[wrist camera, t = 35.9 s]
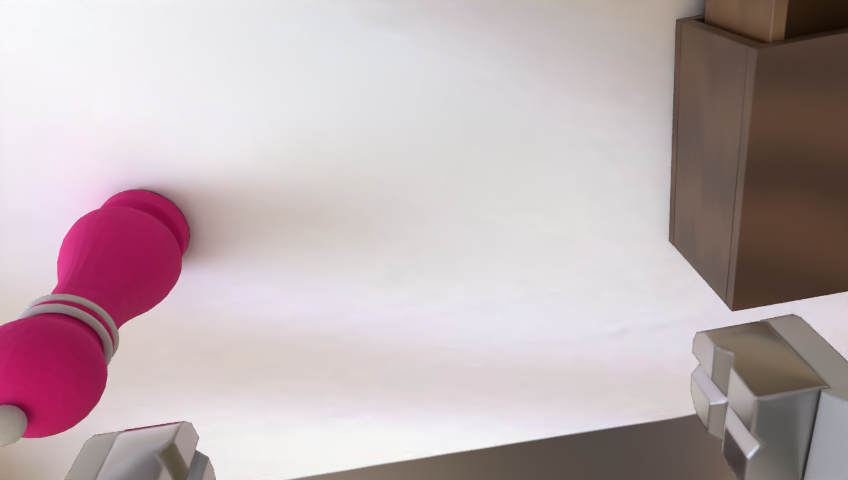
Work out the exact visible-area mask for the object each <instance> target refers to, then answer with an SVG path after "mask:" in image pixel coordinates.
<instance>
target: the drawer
mask: <svg viewBox="0 0 848 480" xmlns="http://www.w3.org/2000/svg"><path fill="white" fill-rule="evenodd" d="M705 24H707V25H710V26H713V27H715V28H718V29H721V30H724V31H727V32H730V33H733V34H736V35H739V36H742V37H744V38H747V39H750V40H753V41H756V42H759V43H762V44H764V43H770V42H775V41H781V40H786V39H792V38H797V37H803V36H808V35H814V34H819V33H825V32H830V31H836V30H841V29H847V28H848V0H706V7H705Z"/></svg>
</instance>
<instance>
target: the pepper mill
mask: <svg viewBox="0 0 848 480" xmlns="http://www.w3.org/2000/svg"><path fill="white" fill-rule="evenodd" d="M188 243H189V228H188V225H187V222H186V219H185V217H184V216H183V214H182V213H181V211H180V210H179V209H178V208H177V207H176V206H175V205H174V204H173V203H172V202H170V201H169V200H167V199H166V198H164V197H162V196H160V195H158V194H155V193H152V192H148V191H143V190H129V191H124V192H121V193H118V194H116V195H114V196H112V197H111V198H110V199H108V200H107V201H106V202H105V203H104V205H103V206H102V207H101V208H100V209H97V210H94V211H92V212H90V213H88V214H86V215H84V216H83V217H81V218H80V219H79V220H78V221H77V222H76V223H75V224H74V225H73V226H72V228H71V229H70V230H69V232H68V233H67V235H66V236H65V238H64V240H63V243H62V246H61V248H60V252H59V257H58V261H57V274H58V284H57V286H56V287H55V289H54V290H53V292H52V293H51V295H47V296H43V297H41V298H38V299H36V300H35V301H33V302H31V303H30V304H29V305H28V306H27V307H26V308H25V309H24V311H23V313H22V314H20V315H19V316H18V317H17V318H16V320H15V321H12V322H9V323H6V324H4V325H2V326H0V446H6V445H9V444H12V443H14V442H16V441H17V440H18V439H20V438H21V437H24V438H42V437H47V436H52V435H55V434H58V433H61V432H64V431H66V430H68V429H70V428H72V427H74V426H75V425H76V424H77V423H79V422H80V421H81V420H83V419H84V418H85V417H86V416H87V415H88V414H89V413H90V412H91V411H92V409H93V408H94V407H95V406H96V405H97V403H98V402H99V400H100V398H101V396H102V394H103V392H104V389H105V387H106V381H107V366H108V364H109V363H110V361H111V358H112V357H113V356H114V354H115V353H116V351H117V348H118V344H119V334H118V329H119V328H120V327H121V326H122V325H123V324H124V323H125V322H127V321H128V320H130V319H132V318H134V317H136V316H138V315H140V314H143V313H145V312H147V311H149V310H150V309H152V308H153V307H154V306H156V305H157V304H158V303H160V302H161V301H162V300H163V299H164V298H165V297H166V296H167V295H168V294H169V292H170V291H171V290H172V288H173V287H174V286H175V284H176V282H177V281H178V278H179V275H180V272H181V266H182V256H183V254H184V252H185V251H186V249H187V246H188Z"/></svg>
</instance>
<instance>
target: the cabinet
mask: <svg viewBox="0 0 848 480" xmlns="http://www.w3.org/2000/svg"><path fill="white" fill-rule="evenodd" d="M669 241H670V242H671V243H672V245H674V247H675V248H676V249H677V250H678V251H679V252H680V253H681V254H682V256H683V257H684V258H685V259H686V260H687V261H688V262H689V263H690V265H691V266H692V267H693V268H694V269H695V270H696V271H697V272H698V274H699V275H700V276H701V277H702V278H703V279H704V280H705V281H706V283H707V284H708V285H709V286H710V287H711V288H712V289H713V290H714V292H715V293H716V294H717V295H718V296H719V297H720V298H721V299H722V301H723V302H724V303H725V304H726V305H727V306H728V308H729V309H730V310H731V311H738V310H744V309H750V308H756V307H761V306H767V305H773V304H778V303H784V302H790V301H795V300H801V299H807V298H813V297H818V296H824V295H830V294H835V293H841V292H847V291H848V28H847V29H841V30H836V31H830V32H825V33H819V34H814V35H808V36H803V37H797V38H792V39H786V40H781V41H775V42H770V43H764V44H762V43H759V42H756V41H753V40H750V39H747V38H744V37H742V36H739V35H736V34H733V33H730V32H727V31H724V30H721V29H718V28H715V27H713V26H710V25H707V24H705V15H699V16H694V17H688V18H683V19H677V20H676V40H675V72H674V104H673V135H672V167H671V198H670V230H669Z"/></svg>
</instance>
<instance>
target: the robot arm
mask: <svg viewBox="0 0 848 480" xmlns="http://www.w3.org/2000/svg"><path fill="white" fill-rule="evenodd" d="M692 353H693V354H694V356H695V357H696V359H697V360H698V362H699V363H700V364H699V365H698V366H697V367H696V369H695V370H694V371H693V372H692V374H691V394H692V399H693V404H694V408H695V410H696V412H697V415H698V417H699V419H700V421H701V423H702V425H703V426H704V428H705V429H706V431H707V433H709V434H711V435H713V436H714V437H716V438H718V439H720V440H722V441H723V447H722V456H723V458H724V459H725V461H726V463H727V464H728V466H729V467H730V469H731V470H732V472H733V473H734V475H735V476H736V478H737V480H848V361H847V360H846V359H845V358H844V357H843V356H842V355H841V354H840V353H839V352H837V351H836V350H835V349H834V348H833V347H832V346H831V345H830V344H829V343H828V342H827V341H826V340H825V339H824V338H823V337H822V336H821V335H819V334H818V333H817V332H816V331H815V330H814V329H813V328H812V327H811V326H810V325H809V324H808V323H807V322H806V321H805V320H804V319H803V318H801V317H799V316H797V315H794V314H790V315H785V316H779V317H774V318H769V319H764V320H760V321H757V322H751V323H745V324H740V325H734V326H729V327H723V328H717V329H712V330H706V331H701V332H697V333H696V335H695V337H694V339H693V349H692ZM198 440H199V436H198V434H197V432H196V431H195V429H194V427H193V425H192V423H190V422H186V421H181V422H174V423H167V424H161V425H154V426H147V427H141V428H134V429H127V430H124V431H118V432H111V433H104V434H98V435H94V436H92V437H91V438H90V439H88V440H87V441H86V442H85V444H84V445H83V447H82V449H81V451H80V453H79V454H78V456H77V458H76V460H75V462H74V463H73V465H72V467H71V469H70V471H69V472H68V474H67V476H66V478H65V480H216V478H215V473H214V468H213V466H212V464H211V462H210V459H209V457H207V456H205V455H204V454H202V453H200V452H199V451H197V450H195V449H196V446H197V443H198Z"/></svg>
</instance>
